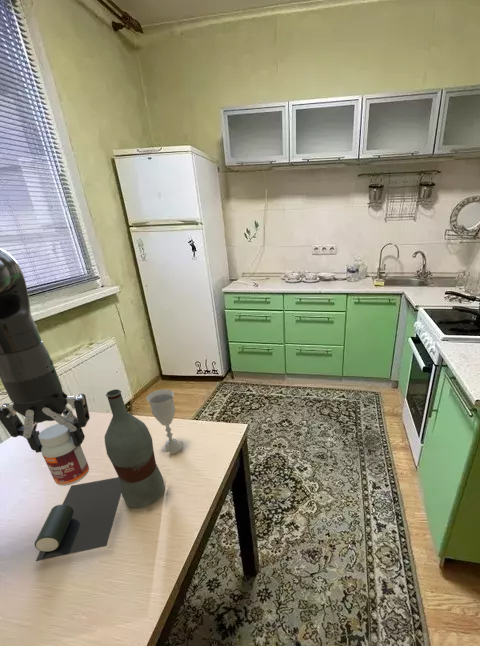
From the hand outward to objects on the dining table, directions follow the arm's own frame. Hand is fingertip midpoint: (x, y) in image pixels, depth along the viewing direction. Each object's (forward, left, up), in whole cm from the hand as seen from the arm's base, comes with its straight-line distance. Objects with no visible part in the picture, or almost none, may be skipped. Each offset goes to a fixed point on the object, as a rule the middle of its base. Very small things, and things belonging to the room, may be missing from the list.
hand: (60, 446), depth 63 cm
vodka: (+10, +5, -22) cm, 25 cm away
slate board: (-2, +2, -22) cm, 22 cm away
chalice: (+15, +22, -22) cm, 35 cm away
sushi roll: (-6, -2, -21) cm, 22 cm away
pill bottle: (0, 0, -8) cm, 8 cm away
